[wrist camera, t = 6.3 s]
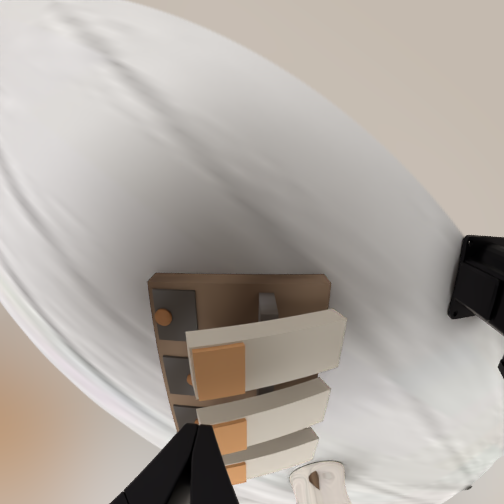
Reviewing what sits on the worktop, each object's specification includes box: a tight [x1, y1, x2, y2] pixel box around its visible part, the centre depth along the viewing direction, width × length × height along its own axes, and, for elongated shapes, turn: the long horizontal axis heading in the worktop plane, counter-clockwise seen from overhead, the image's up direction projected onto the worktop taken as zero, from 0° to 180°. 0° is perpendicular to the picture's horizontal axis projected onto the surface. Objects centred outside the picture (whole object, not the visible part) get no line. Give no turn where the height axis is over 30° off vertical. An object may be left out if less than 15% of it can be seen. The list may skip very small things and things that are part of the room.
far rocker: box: [222, 427, 319, 485], centre depth 14 cm, size 7×3×1 cm, turn 89°
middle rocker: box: [196, 377, 331, 455], centre depth 13 cm, size 7×3×1 cm, turn 89°
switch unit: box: [148, 273, 331, 432], centre depth 16 cm, size 10×13×4 cm
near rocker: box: [185, 308, 347, 401], centre depth 12 cm, size 7×3×1 cm, turn 89°
